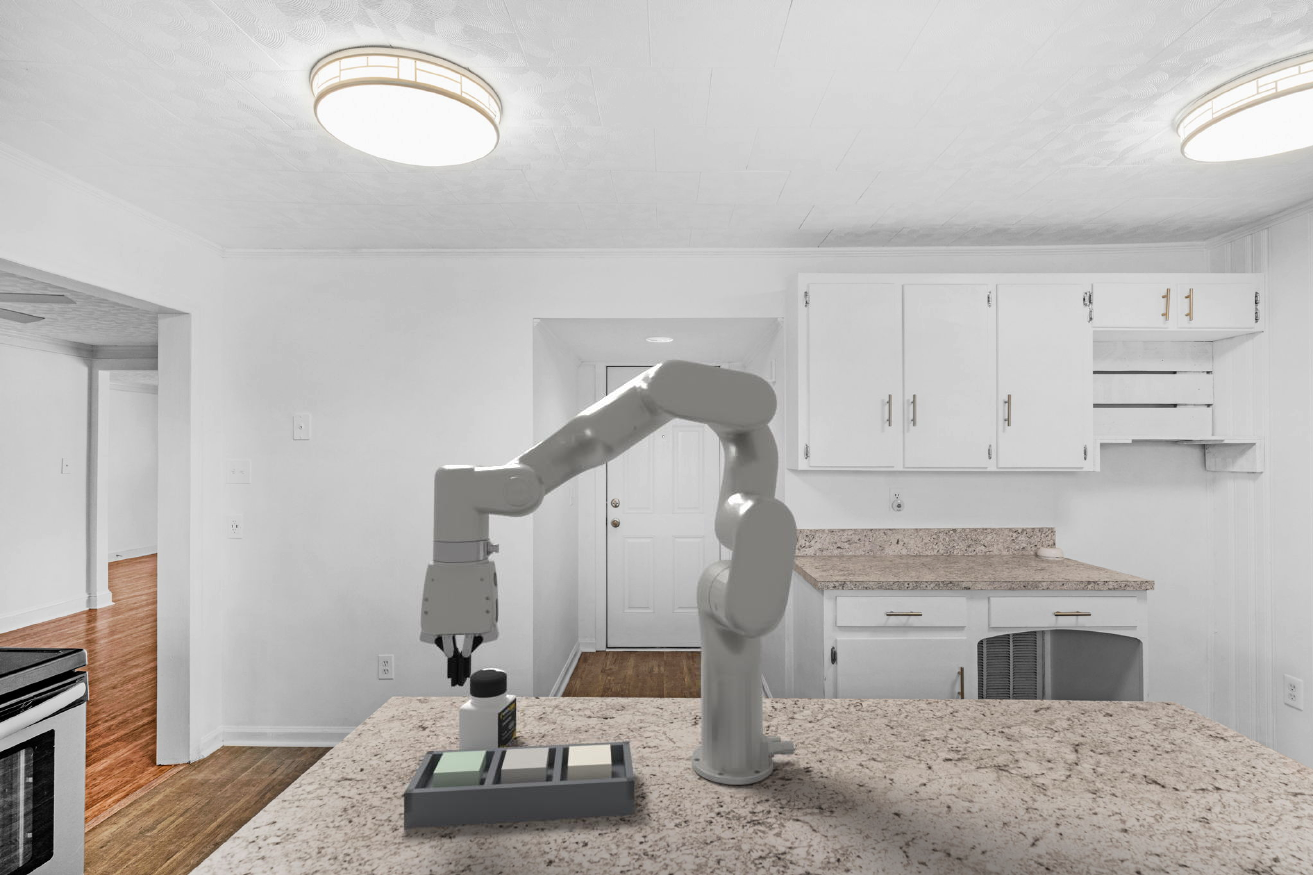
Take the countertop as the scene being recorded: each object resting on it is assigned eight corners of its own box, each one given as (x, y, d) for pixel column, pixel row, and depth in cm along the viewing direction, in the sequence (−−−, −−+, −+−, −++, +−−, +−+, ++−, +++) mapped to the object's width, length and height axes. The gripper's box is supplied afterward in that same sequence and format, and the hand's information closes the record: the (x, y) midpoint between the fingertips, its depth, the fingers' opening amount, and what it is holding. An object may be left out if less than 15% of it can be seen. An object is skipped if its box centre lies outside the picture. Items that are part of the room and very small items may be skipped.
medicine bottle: (498, 755, 104) (498, 680, 104) (458, 751, 105) (458, 677, 106) (517, 736, 111) (517, 666, 111) (478, 733, 112) (478, 663, 113)
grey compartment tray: (629, 771, 99) (629, 741, 99) (634, 814, 87) (634, 780, 87) (427, 781, 96) (427, 751, 96) (403, 828, 84) (404, 793, 84)
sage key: (486, 764, 94) (486, 750, 94) (478, 785, 88) (478, 770, 88) (443, 766, 93) (443, 752, 93) (433, 787, 87) (433, 772, 87)
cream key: (610, 758, 95) (610, 744, 95) (611, 778, 89) (611, 763, 89) (569, 760, 95) (569, 746, 95) (567, 780, 89) (567, 765, 89)
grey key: (548, 761, 94) (548, 747, 95) (545, 781, 88) (545, 767, 89) (507, 763, 94) (507, 749, 94) (501, 784, 88) (501, 769, 88)
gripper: (517, 547, 96) (516, 672, 95) (413, 548, 94) (411, 675, 94) (511, 555, 88) (509, 691, 88) (398, 556, 87) (395, 694, 86)
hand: (459, 682), depth 91 cm, fingers closed
